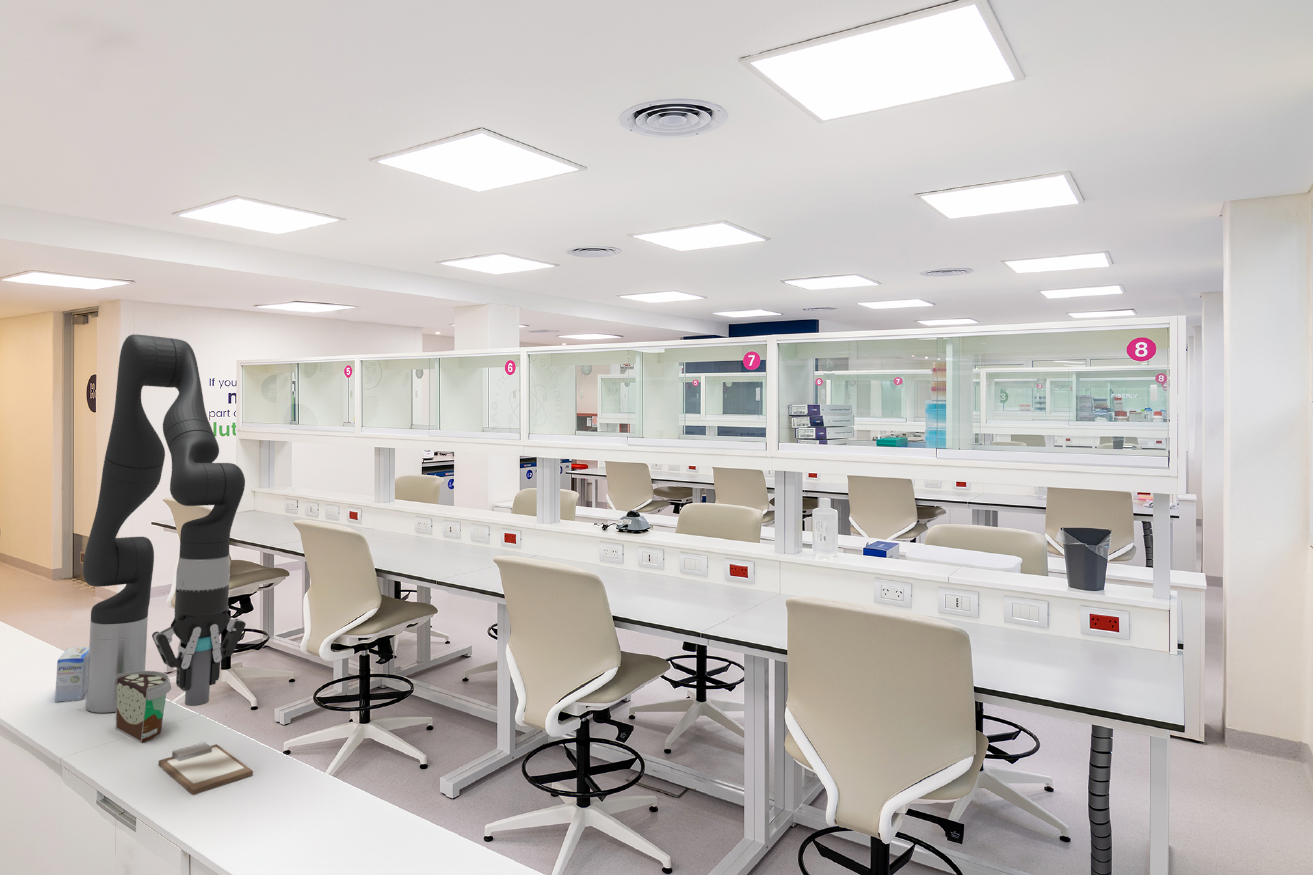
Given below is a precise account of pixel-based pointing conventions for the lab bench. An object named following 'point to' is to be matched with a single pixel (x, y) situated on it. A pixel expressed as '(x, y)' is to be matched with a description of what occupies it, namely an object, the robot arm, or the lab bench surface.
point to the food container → (141, 703)
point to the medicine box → (72, 674)
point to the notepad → (204, 767)
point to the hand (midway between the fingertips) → (197, 685)
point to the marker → (200, 674)
